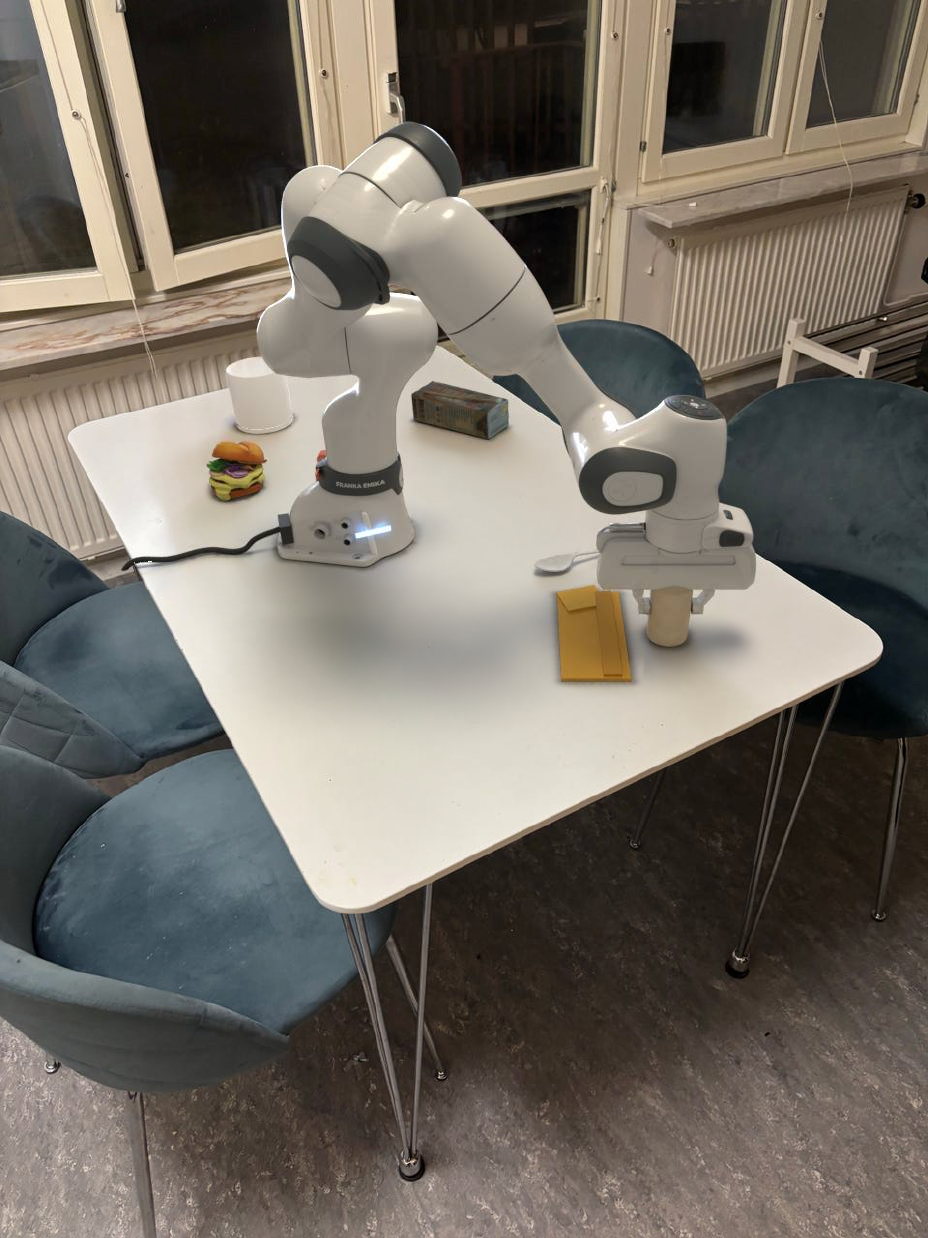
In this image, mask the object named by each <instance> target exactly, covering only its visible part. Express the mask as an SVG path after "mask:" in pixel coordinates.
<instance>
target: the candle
mask: <svg viewBox="0 0 928 1238" xmlns="http://www.w3.org/2000/svg"><path fill="white" fill-rule="evenodd" d="M649 592H650V593H649V598H650V603H651V608H650V614H647V623H646V624H647V625H646V635H647V638H648V640H650V641H651V642H652V643H653V644H656V645H658V646H661V647H670V648H671V647H677V646H680V645H682V644H683V643H685V642H686V640H687V638H688V634H689V627H690V620H691V604H692V598H694V590H689V589H686V588H683V587H679V586H670V587H667V588H664V589H661V590H650V591H649Z"/></svg>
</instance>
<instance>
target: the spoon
mask: <svg viewBox="0 0 928 1238" xmlns="http://www.w3.org/2000/svg"><path fill="white" fill-rule="evenodd" d="M593 554H599V551H598V549H597V548H596V549H590V550H586V551H577V552H570V553H565V554H557V555H553V556H549V557H546V558H543V559H538V560H536V561H535V562H534V565H533V567H534V568H536V569H538V570H541V571H545V572H552V573H554V572H556V573H558V572H564V571H566V570H568V569H569V568H570V567H571V566H572V565H573V562H574V560H575V559H576V558H577V557H580V556H588V555H593Z"/></svg>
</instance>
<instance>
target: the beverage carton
mask: <svg viewBox="0 0 928 1238" xmlns="http://www.w3.org/2000/svg"><path fill="white" fill-rule="evenodd" d="M410 397H411V406H412V408H411V409H412V416H413V420H414V421H417V422H422V423H425V424H428V425H433V426H437V427H440V428H444V429H447V430H452V431H456V432H459V433H463V434H467V435H470V436H475V437H479V438H483V439H487V440H490V439H492V437H494V436H496V435H497V434H499V433H500V432H501V431H503V430H504V429H505V428H507V427H508V426H509V425H510V424H509V423H510V421H509V419H510V415H509V414H510V413H509V399H507V398H505V397H500V396H496V395H492V394H488V393H484V392H480V391H477V390H472V389H468V388H464V387H460V386H457V385H452V384H448V383H444V382H439V381H434V380H432V381H430V382H429V383H428V384H425V385H423V386H421V387H420V388H419V389H418V390H417V389H416V390H415V391H414V392H411V395H410Z"/></svg>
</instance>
